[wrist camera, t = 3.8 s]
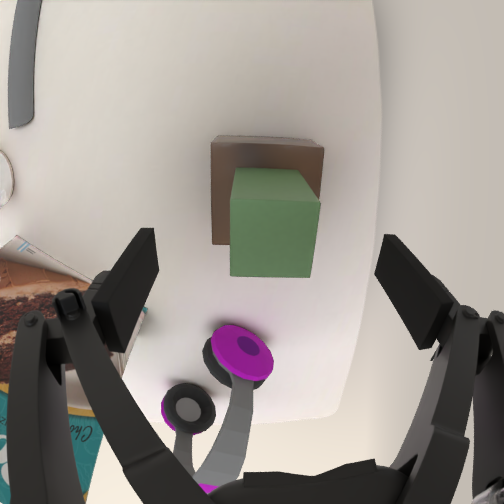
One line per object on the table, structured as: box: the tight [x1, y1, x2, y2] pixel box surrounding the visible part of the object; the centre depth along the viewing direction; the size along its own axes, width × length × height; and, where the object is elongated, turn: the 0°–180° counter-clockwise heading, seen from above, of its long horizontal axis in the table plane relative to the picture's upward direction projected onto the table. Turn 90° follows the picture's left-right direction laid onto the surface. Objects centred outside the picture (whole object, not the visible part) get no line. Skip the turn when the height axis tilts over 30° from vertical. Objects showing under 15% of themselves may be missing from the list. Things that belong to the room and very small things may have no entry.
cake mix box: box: [0, 236, 147, 504], centre depth 21 cm, size 22×6×30 cm, turn 60°
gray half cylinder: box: [8, 0, 41, 129], centre depth 18 cm, size 4×20×2 cm, turn 178°
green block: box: [230, 167, 321, 278], centre depth 21 cm, size 5×5×8 cm
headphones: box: [161, 325, 274, 494], centre depth 32 cm, size 21×9×20 cm, turn 148°
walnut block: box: [211, 136, 324, 245], centre depth 26 cm, size 9×9×5 cm
